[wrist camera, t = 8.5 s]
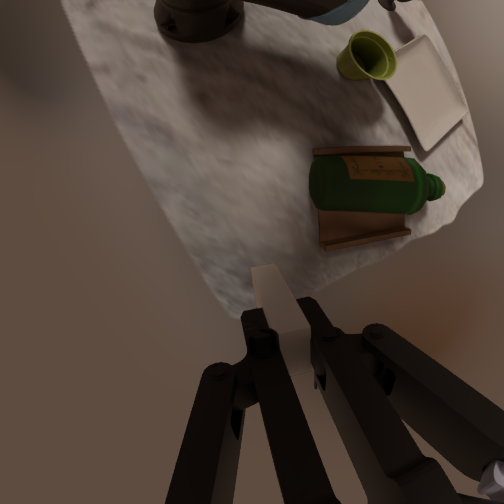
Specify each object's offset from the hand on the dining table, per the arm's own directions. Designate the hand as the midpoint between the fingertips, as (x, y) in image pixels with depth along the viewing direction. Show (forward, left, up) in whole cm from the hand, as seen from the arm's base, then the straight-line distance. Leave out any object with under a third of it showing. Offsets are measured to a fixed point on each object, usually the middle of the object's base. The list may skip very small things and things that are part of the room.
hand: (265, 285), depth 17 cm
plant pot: (-23, +25, -31) cm, 46 cm away
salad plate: (-20, +43, -31) cm, 57 cm away
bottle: (-2, +13, -25) cm, 29 cm away
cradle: (+2, +25, -31) cm, 40 cm away
